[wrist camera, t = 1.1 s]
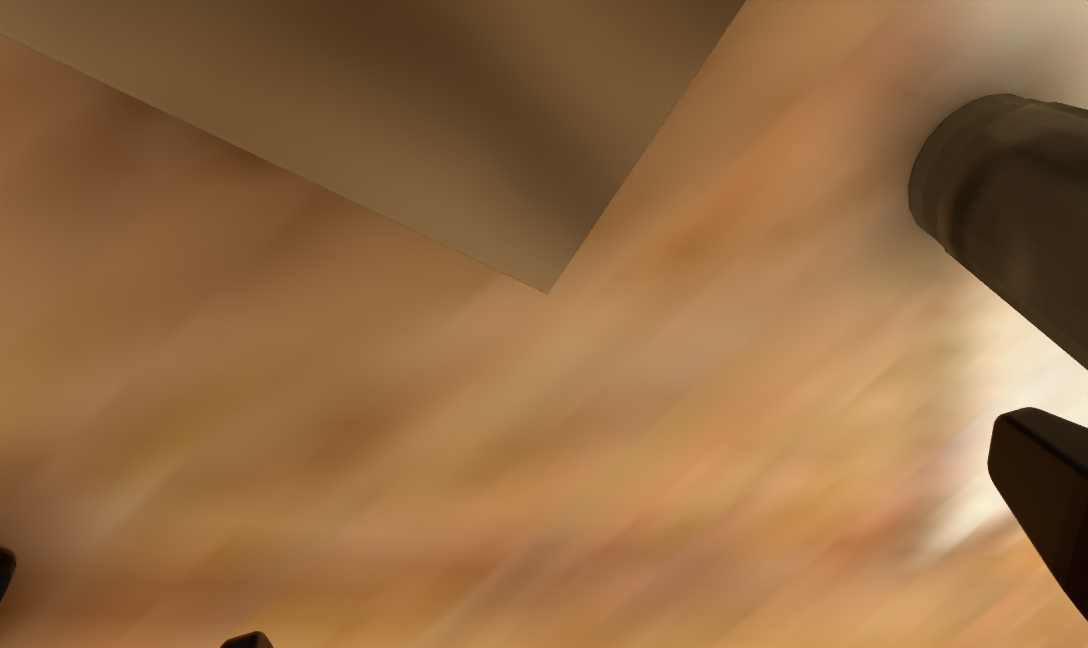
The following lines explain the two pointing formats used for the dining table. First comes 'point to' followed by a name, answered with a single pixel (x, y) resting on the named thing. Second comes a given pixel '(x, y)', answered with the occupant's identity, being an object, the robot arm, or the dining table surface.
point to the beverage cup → (1014, 207)
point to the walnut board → (411, 99)
